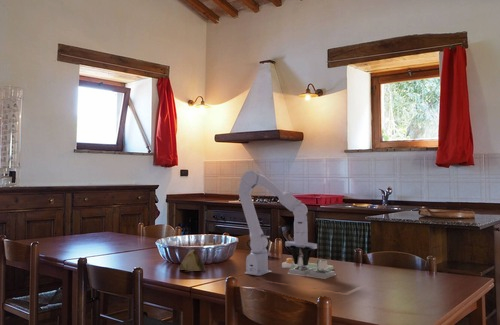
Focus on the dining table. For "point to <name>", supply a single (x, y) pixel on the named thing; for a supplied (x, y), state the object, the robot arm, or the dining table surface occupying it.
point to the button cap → (290, 260)
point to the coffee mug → (267, 245)
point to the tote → (315, 266)
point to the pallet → (311, 273)
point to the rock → (192, 262)
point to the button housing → (287, 265)
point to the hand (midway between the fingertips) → (301, 264)
